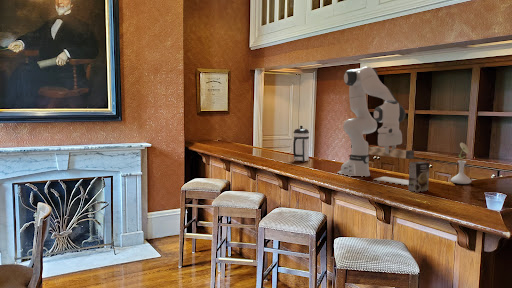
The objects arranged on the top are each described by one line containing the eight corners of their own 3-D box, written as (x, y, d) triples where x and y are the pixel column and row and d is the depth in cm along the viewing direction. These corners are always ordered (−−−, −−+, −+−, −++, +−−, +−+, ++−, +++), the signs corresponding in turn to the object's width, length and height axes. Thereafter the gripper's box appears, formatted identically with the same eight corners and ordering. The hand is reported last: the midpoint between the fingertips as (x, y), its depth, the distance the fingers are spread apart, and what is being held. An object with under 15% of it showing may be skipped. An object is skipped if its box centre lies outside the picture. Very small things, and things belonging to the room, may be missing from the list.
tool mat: (373, 180, 262) (373, 178, 262) (384, 177, 270) (384, 176, 270) (418, 187, 239) (418, 186, 239) (428, 184, 247) (428, 183, 247)
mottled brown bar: (368, 154, 244) (368, 147, 243) (372, 153, 246) (372, 146, 246) (409, 158, 224) (410, 151, 223) (413, 158, 227) (413, 150, 226)
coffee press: (289, 160, 349) (289, 125, 346) (307, 159, 351) (308, 124, 347) (293, 163, 332) (293, 126, 329) (312, 163, 334) (313, 126, 330)
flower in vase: (472, 186, 243) (474, 144, 241) (451, 184, 247) (453, 143, 244) (469, 181, 256) (471, 141, 253) (449, 180, 259) (451, 141, 257)
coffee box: (416, 192, 229) (417, 163, 227) (408, 190, 234) (408, 162, 233) (428, 190, 232) (429, 162, 230) (420, 188, 238) (421, 160, 236)
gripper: (395, 127, 243) (394, 151, 244) (376, 129, 229) (375, 154, 231) (405, 128, 238) (404, 152, 239) (386, 130, 224) (385, 155, 226)
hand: (390, 153), depth 235 cm, fingers closed on mottled brown bar, 4 cm apart
